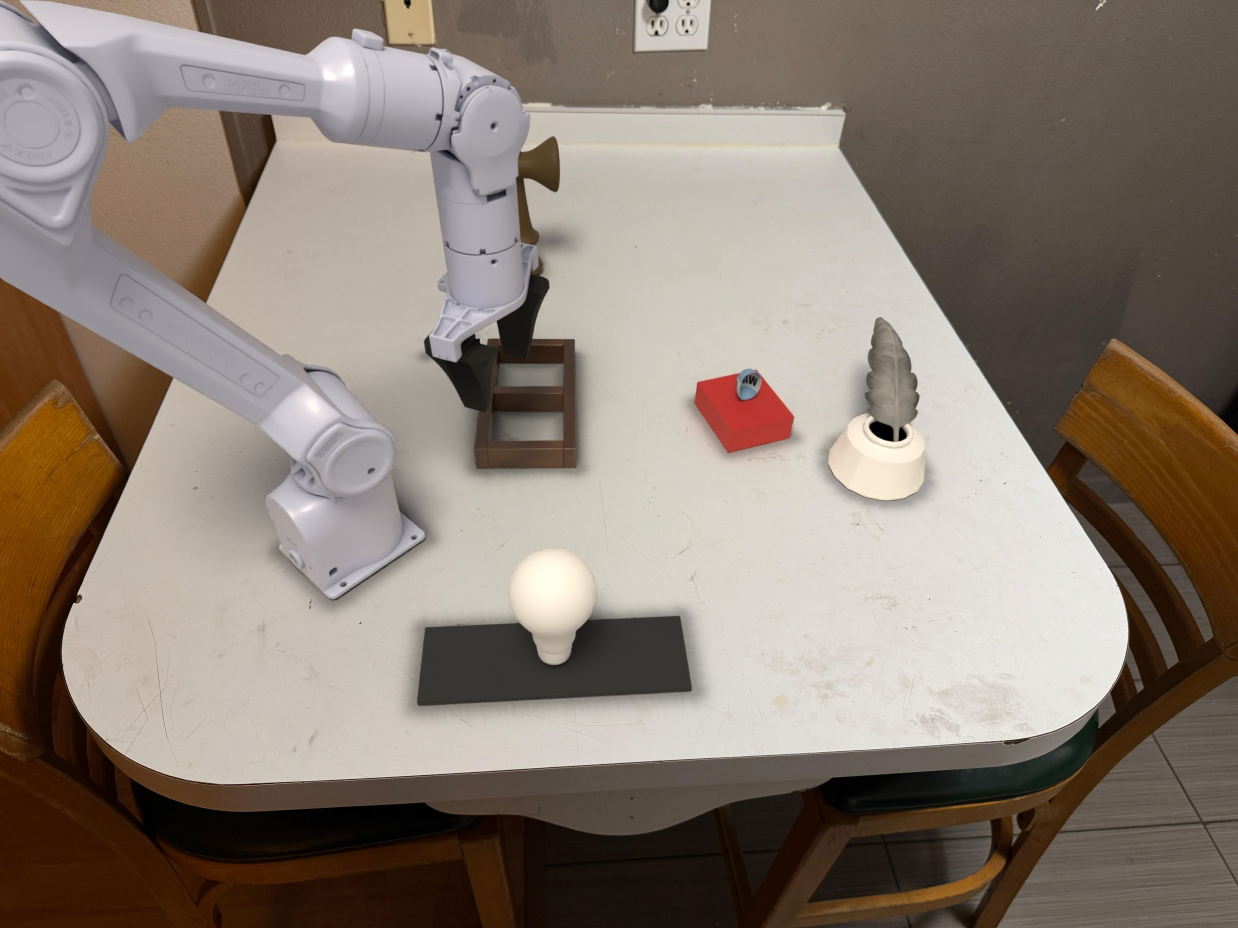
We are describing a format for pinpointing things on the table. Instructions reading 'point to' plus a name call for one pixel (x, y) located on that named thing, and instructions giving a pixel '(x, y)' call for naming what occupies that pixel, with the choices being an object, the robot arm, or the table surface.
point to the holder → (531, 401)
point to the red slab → (743, 410)
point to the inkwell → (883, 427)
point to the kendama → (544, 170)
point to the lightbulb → (552, 599)
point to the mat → (513, 670)
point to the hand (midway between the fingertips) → (497, 380)
